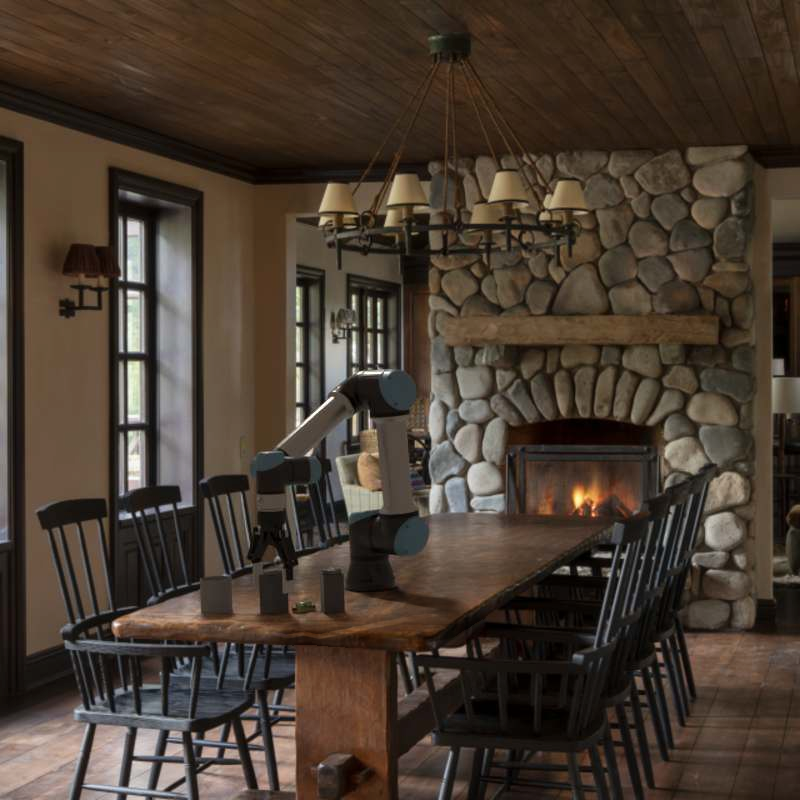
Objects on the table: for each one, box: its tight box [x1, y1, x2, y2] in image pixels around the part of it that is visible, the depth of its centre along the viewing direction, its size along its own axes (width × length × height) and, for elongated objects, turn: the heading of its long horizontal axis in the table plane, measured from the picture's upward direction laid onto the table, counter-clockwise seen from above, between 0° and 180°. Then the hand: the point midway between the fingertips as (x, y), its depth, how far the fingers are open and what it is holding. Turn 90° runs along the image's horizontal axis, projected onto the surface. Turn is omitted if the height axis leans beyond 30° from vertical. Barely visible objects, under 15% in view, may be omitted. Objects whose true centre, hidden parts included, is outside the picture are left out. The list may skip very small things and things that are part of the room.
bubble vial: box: [291, 600, 317, 615], centre depth 345 cm, size 6×2×3 cm, turn 131°
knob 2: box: [319, 567, 346, 615], centre depth 344 cm, size 5×5×11 cm
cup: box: [199, 575, 234, 615], centre depth 350 cm, size 8×8×10 cm
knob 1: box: [258, 568, 290, 616], centre depth 345 cm, size 5×5×11 cm
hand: (272, 590), depth 345 cm, fingers open, 13 cm apart
